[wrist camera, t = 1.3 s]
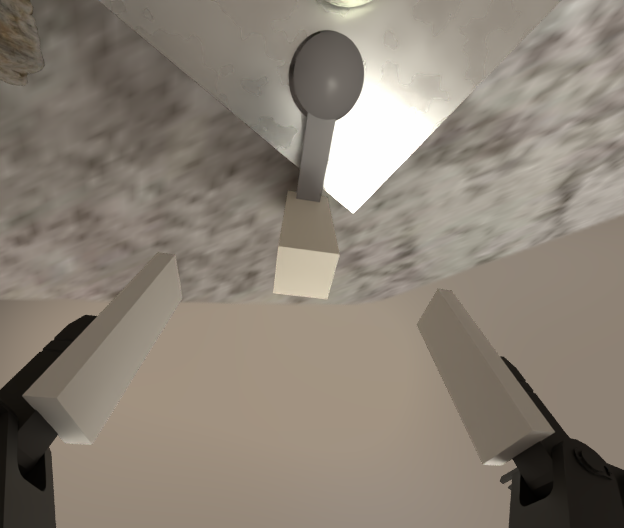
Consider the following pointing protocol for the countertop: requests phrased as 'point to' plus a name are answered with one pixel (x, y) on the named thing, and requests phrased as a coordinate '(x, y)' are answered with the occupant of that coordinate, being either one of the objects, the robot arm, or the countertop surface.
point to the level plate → (376, 59)
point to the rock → (18, 42)
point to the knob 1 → (316, 164)
